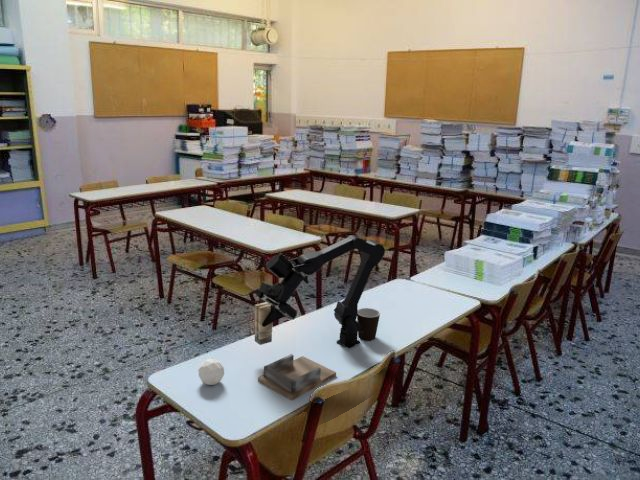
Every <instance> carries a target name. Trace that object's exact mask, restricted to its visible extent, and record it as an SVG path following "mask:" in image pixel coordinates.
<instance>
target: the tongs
mask: <svg viewBox="0 0 640 480" xmlns="http://www.w3.org/2000/svg"><path fill="white" fill-rule="evenodd" d="M271 305H272V304H269V305H268V303H267V302H264V303H257V304H254V330H253V331H254V342H255V343H257V344H258V345H260V346H261V345H265V344H268V343H272V341H273V337H272V336H273V322H272V323H271V324H269V325H267V326H265V327H263V326H262V324H263V322H264V320H265V319H266V317H267V316H268V314H269V313H270V311H271Z"/></svg>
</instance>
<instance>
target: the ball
mask: <svg viewBox="0 0 640 480" xmlns="http://www.w3.org/2000/svg"><path fill="white" fill-rule="evenodd" d="M224 368H225V367H224V366H223V364H222V363H221V361H220V360H217V359H215V358H208V359H206V360H205V361H202V362H201V364H200V366H199V368H198V370H197V371H198V377H199V379H200V381H201V383H203V384H205V385H207V386H215V385H217V384H218V383H220V382H221V381H222V379H223V378H224V375H225V369H224Z"/></svg>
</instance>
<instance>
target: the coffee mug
mask: <svg viewBox="0 0 640 480" xmlns="http://www.w3.org/2000/svg"><path fill="white" fill-rule="evenodd" d="M380 315H381V312H380V311H379V310H377V309H375V308H371V307H370V308H369V307H364V308H359V309H358V314H357V318H356V321H357V322H358V323H359V324H360V325H361V326H362V327H361V330H360V331H358V335H357V338H358V337H359V338H360V339H359V338H358V339H359V340H361V341H363V340H364V341H363V342H372V341H371V340H373V341H374V340H376V335H377V332H378V328H379V327H378V326H379V321H380Z"/></svg>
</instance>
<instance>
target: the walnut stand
mask: <svg viewBox="0 0 640 480" xmlns="http://www.w3.org/2000/svg"><path fill="white" fill-rule="evenodd" d="M294 356H295V355H294V354H292V353H290V354H289V355H287V356H284V357H282V358H280V359H278V360H275V361H273V362H271V363H269V364H267V365H265V366H263V374H262V375H260V376H258V377H257V381H258V382H260V383H261V384H263V385H265V386H266V387H268V388H270V389H272V390H273V391H275V392H277V393H279V394H281V395H282V396H284V397H286V398H287V399H289V400H291V401H293V400H296V399H297V398H299V397H300V396H301V395H303V394H305V393H307V392H309V391H310V390H313V389H314V388H316V387H318V386H320V385H322V384H323V383H325V382H327V381H329V380H332V379H333V378H334V377H336V376H337V372H336V371H335V370H332V369H331V368H328V367H326V366H324V365H322V364H320V363H318V362H316V361H314V360H311V359H309V358H307V357H306V356H304V355H303V356H299V357H298V358H295V359H294Z"/></svg>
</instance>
